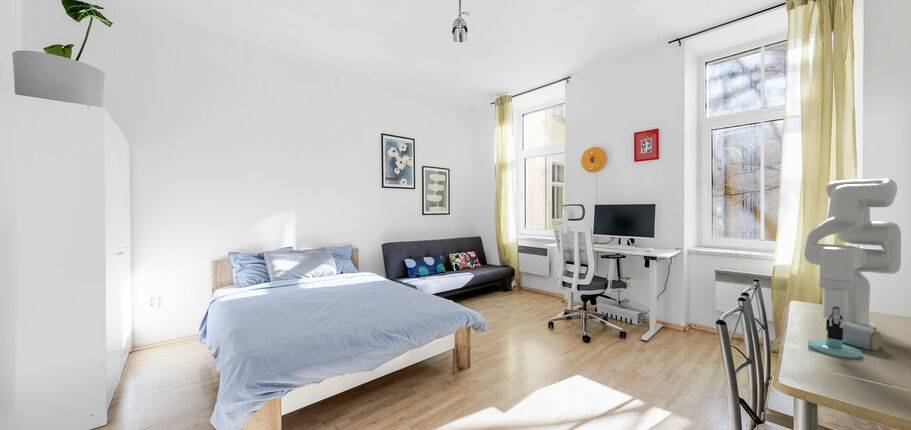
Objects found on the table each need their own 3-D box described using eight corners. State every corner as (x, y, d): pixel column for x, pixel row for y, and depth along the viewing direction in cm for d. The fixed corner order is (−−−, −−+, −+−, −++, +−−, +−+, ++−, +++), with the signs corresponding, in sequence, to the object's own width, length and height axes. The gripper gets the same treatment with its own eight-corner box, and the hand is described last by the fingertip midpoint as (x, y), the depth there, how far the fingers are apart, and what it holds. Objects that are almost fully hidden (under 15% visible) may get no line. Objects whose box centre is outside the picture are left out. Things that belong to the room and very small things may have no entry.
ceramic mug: (872, 353, 112) (873, 330, 112) (837, 344, 120) (838, 322, 120) (887, 349, 116) (888, 327, 116) (853, 340, 124) (854, 319, 123)
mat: (807, 341, 122) (807, 340, 122) (859, 351, 114) (859, 350, 114) (808, 351, 114) (808, 350, 114) (863, 363, 105) (863, 362, 105)
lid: (807, 340, 122) (808, 323, 122) (859, 350, 114) (860, 332, 114) (808, 350, 114) (808, 332, 114) (863, 362, 105) (864, 342, 105)
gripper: (818, 278, 122) (816, 326, 122) (820, 286, 110) (818, 339, 110) (850, 282, 116) (848, 331, 117) (856, 290, 104) (854, 345, 105)
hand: (834, 335), depth 113 cm, fingers open, 9 cm apart
